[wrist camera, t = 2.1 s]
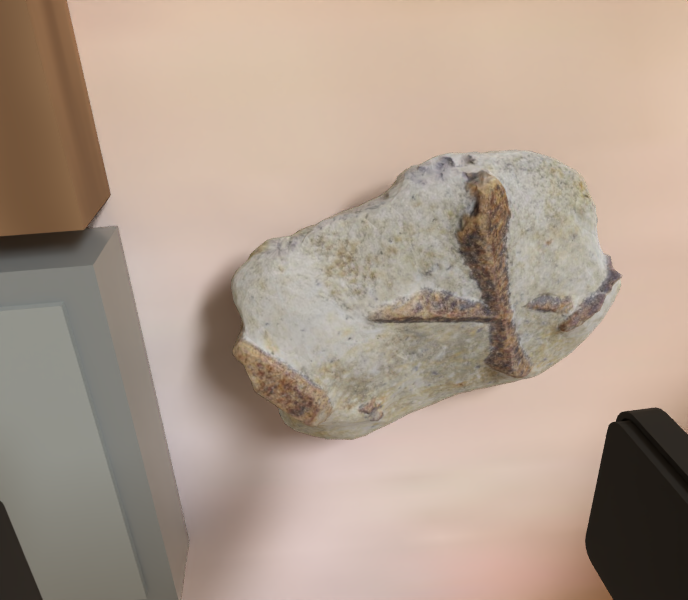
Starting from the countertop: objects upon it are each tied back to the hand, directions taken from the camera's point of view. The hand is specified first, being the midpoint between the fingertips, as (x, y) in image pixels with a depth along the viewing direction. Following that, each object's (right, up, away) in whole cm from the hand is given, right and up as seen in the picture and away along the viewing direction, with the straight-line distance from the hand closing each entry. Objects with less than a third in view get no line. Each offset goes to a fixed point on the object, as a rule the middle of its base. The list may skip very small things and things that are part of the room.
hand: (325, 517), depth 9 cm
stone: (-1, +6, +11) cm, 12 cm away
